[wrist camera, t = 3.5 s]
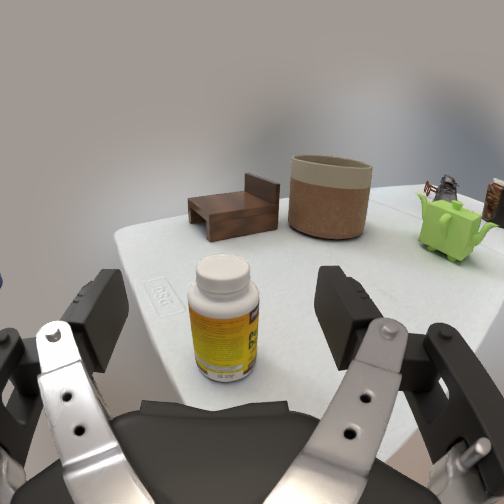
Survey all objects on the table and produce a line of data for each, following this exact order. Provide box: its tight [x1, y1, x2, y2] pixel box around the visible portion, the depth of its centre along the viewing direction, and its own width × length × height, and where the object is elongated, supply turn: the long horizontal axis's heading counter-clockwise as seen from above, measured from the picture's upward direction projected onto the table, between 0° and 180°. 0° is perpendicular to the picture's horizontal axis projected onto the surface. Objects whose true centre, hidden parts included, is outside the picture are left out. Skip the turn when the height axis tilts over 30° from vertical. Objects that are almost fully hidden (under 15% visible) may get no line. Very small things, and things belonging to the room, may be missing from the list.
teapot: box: [416, 193, 498, 261], centre depth 47 cm, size 15×13×11 cm
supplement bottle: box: [188, 254, 259, 382], centre depth 23 cm, size 6×6×10 cm
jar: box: [482, 178, 504, 228], centre depth 69 cm, size 12×12×15 cm
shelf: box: [188, 173, 280, 242], centre depth 56 cm, size 14×12×9 cm
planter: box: [288, 155, 372, 239], centre depth 55 cm, size 16×16×14 cm
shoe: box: [432, 175, 458, 203], centre depth 71 cm, size 10×27×12 cm, turn 149°
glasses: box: [424, 181, 437, 196], centre depth 94 cm, size 13×13×5 cm
